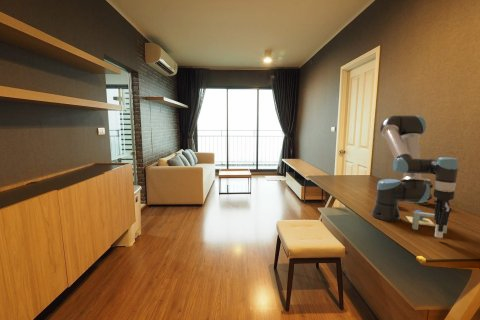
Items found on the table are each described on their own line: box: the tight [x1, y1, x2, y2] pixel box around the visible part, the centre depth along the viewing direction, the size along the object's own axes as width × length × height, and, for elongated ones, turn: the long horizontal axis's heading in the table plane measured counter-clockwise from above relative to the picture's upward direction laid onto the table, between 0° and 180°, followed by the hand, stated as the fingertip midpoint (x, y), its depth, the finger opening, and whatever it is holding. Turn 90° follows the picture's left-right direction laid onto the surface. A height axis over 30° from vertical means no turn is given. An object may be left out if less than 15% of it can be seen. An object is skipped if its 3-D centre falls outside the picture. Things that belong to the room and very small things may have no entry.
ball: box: [415, 209, 425, 219], centre depth 147 cm, size 6×6×6 cm
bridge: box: [411, 210, 449, 235], centre depth 130 cm, size 3×14×9 cm, turn 69°
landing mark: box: [405, 215, 436, 227], centre depth 144 cm, size 12×12×1 cm
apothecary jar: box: [416, 178, 434, 206], centre depth 178 cm, size 12×12×18 cm
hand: (438, 236), depth 119 cm, fingers closed
